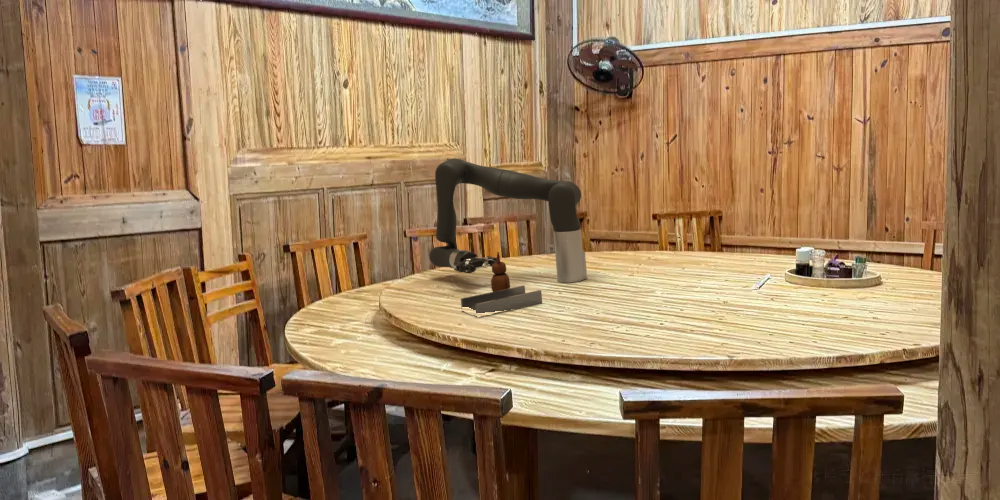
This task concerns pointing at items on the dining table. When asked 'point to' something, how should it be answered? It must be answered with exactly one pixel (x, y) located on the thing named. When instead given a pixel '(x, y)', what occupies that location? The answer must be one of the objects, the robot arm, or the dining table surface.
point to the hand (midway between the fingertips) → (485, 266)
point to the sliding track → (502, 300)
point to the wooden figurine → (499, 276)
